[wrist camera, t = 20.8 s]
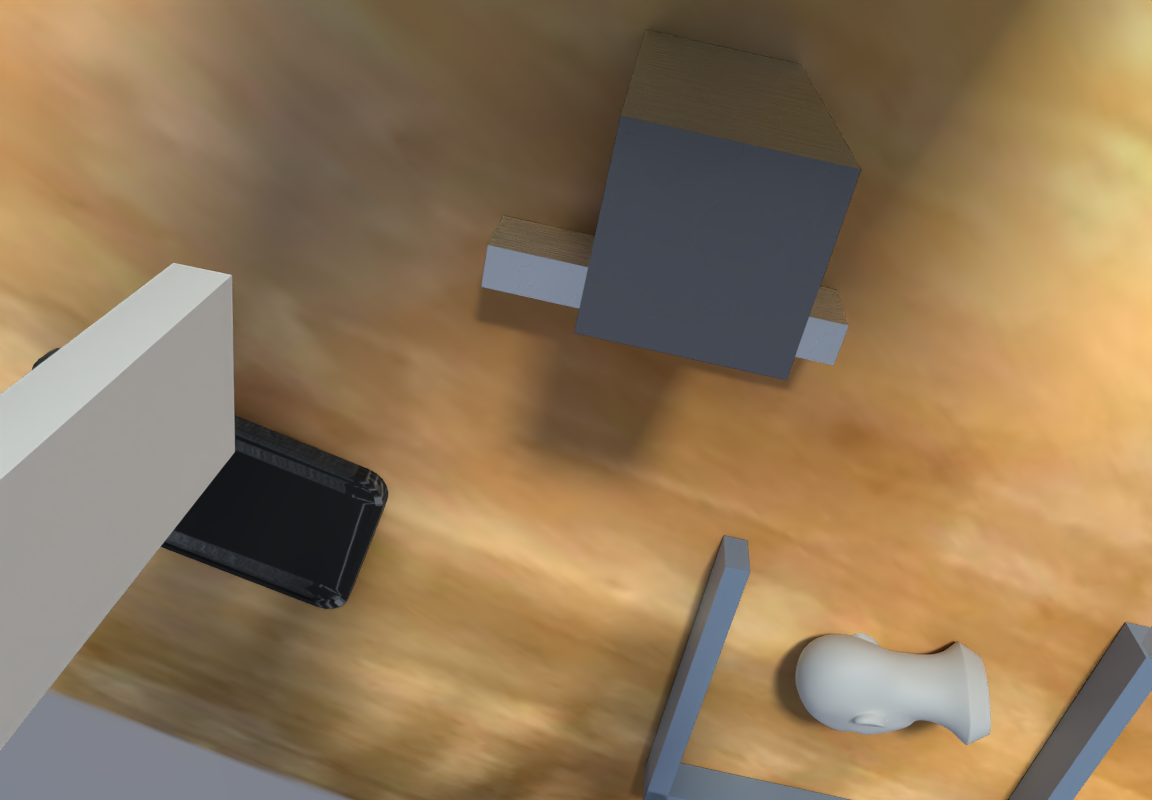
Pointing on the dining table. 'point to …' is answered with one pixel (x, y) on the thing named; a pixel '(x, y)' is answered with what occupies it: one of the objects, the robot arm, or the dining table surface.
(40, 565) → the robot arm
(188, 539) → the phone
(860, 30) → the dining table surface
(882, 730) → the pale two-lobed sculpture
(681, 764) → the frame
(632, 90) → the grey block with bar
